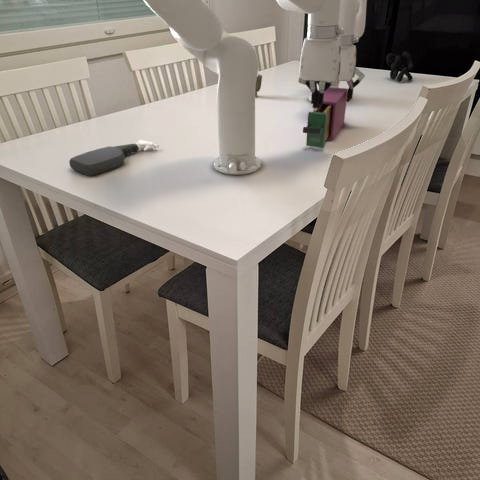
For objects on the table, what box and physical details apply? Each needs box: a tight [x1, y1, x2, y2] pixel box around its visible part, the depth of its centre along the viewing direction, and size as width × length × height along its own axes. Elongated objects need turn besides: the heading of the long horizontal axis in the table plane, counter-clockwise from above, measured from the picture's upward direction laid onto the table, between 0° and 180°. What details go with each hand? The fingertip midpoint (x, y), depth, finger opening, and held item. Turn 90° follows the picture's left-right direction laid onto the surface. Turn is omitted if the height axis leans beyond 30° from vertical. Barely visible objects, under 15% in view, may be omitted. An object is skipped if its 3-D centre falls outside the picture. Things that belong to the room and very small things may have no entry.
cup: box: [255, 73, 263, 97], centre depth 179 cm, size 8×7×8 cm
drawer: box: [302, 104, 333, 149], centre depth 130 cm, size 22×5×10 cm, turn 158°
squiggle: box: [385, 51, 414, 83], centre depth 198 cm, size 11×10×15 cm
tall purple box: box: [313, 87, 349, 141], centre depth 140 cm, size 18×6×11 cm, turn 158°
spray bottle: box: [68, 139, 160, 177], centre depth 124 cm, size 3×11×24 cm
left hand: (316, 106), depth 121 cm, fingers closed
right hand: (335, 99), depth 143 cm, fingers open, 8 cm apart
